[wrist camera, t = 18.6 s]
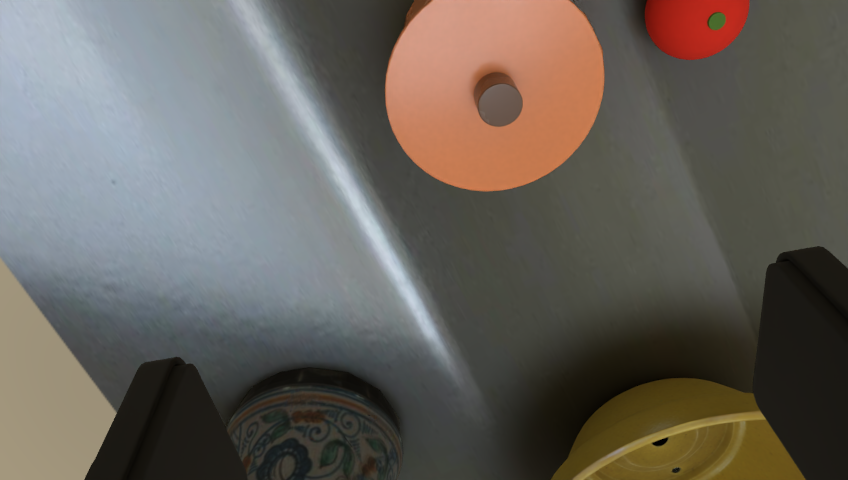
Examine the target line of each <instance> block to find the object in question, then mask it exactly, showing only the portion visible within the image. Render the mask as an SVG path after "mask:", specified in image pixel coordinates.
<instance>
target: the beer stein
mask: <svg viewBox="0 0 848 480" xmlns="http://www.w3.org/2000/svg"><path fill="white" fill-rule="evenodd" d="M226 430H227V432H228V434H229V436H230V438H231V440H232V442H233V444H234V446H235V448H236V450H237V452H238V454H239V456H240V459H241V461H242V463H243V465H244V467H245V469H246V472H247V478H248V480H397V478H398V476H399V473H400V470H401V466H402V460H403V445H402V440H401V437H400V427H399V418H398V416H397V415H396V413H395V412H394V410H393V409H392V408H391V406H390V405H389V403H388V402H387V400H386V399H385V397H384V396H383V394H382V393H381V392H380V390H378V389H376V388H374V387H373V386H371V385H369V384H367V383H366V382H364V381H362V380H360V379H358V378H357V377H355V376H353V375H351V374H350V373H347V372H339V371H332V370H324V369H317V368H304V369H298V370H293V371H287V372H281V373H278V374H276V375H274V376H272V377H270V378H268V379H266V380H264V381H263V382H261V383H259V384H257V385H255V386H253V387H252V388H251V390H250V391H249V392H248V394H247V395H246V397H245V398H244V399H243V401H242V402H241V404H240V405H239V407H238V408H237V410H236V412H235V413H234V415H233V416H232V418H231V420H230V422H229V424H228V426H227V428H226Z"/></svg>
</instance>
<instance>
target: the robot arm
mask: <svg viewBox="0 0 848 480" xmlns="http://www.w3.org/2000/svg"><path fill="white" fill-rule="evenodd" d="M753 394H754V398H755V401H756V404H757V406H758V408H759V410H760V411H761V413H762V414H763V416H764V417H765V419H766V420H767V422H768V423H769V425H770V426H771V428H772V429H773V431H774V432H775V434H776V435H777V437H778V438H779V440H780V441H781V443H782V445H783V446H784V448H785V449H786V451H787V452H788V454H789V455H790V457H791V458H792V460H793V461H794V463H795V464H796V466H797V467H798V469H799V470H800V472H801V473H802V475H803V476H804V478H805V479H806V480H848V268H847V267H845V266H844V265H843V264H842V263H841V262H840V261H839V260H838V259H837V258H836V257H835V256H833V255H832V254H831V253H830V252H829V251H828V250H827V249H825V248H824V247H819V246H817V247H811V248H806V249H800V250H794V251H788V252H783V253H781V254H780V255H779V256H778V258H777V261H776V263H773V264H770V265H769V266H768V268H767V272H766V279H765V287H764V296H763V304H762V312H761V321H760V329H759V337H758V346H757V354H756V362H755V371H754V379H753ZM85 480H248V478H247V472H246V469H245V467H244V465H243V463H242V461H241V459H240V456H239V454H238V452H237V450H236V448H235V446H234V444H233V442H232V440H231V438H230V436H229V434H228V432H227V430H226V428H225V426H224V424H223V422H222V420H221V418H220V416H219V413H218V411H217V409H216V407H215V405H214V403H213V401H212V399H211V397H210V395H209V393H208V391H207V389H206V387H205V385H204V383H203V381H202V379H201V377H200V375H199V373H198V370H197V369H196V367H195V366H194V365H193V364H185V362H184V361H183V360H182V359H181V358H180V357H174V358H168V359H162V360H156V361H151V362H145V363H143V364H141V366H140V367H139V368H138V370H137V372H136V374H135V376H134V379H133V381H132V383H131V385H130V387H129V389H128V391H127V393H126V395H125V397H124V400H123V402H122V404H121V406H120V408H119V410H118V412H117V414H116V417H115V418H114V421H113V423H112V425H111V427H110V429H109V431H108V433H107V435H106V437H105V440H104V442H103V444H102V446H101V448H100V450H99V452H98V454H97V457H96V459H95V460H94V462H93V463H92V465H91V467H90V469H89V471H88V473H87V475H86V477H85Z"/></svg>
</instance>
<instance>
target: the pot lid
mask: <svg viewBox="0 0 848 480" xmlns="http://www.w3.org/2000/svg"><path fill="white" fill-rule="evenodd" d="M603 89H604V63H603V56H602V52H601V48H600V45H599V41H598V39H597V37H596V34H595V32H594V30H593V28H592V26H591V25H590V23H589V22H588V20H587V19H586V17H585V16H584V14H583V13H582V12H581V11H580V10H579V9H578V8H577V6H576V5H575V4H574V3H572V2H571V1H570V0H429V1H428V2H427V3H426V4H425V5H423V6H422V7H421V8H420V9H419V10H418V11H417V12H416V13H415V15H414V16H413V17H412V18H411V19H410V20H409V22H408V23H407V24H406V26H405V27H404V29H403V30H402V32H401V33H400V35H399V37H398V39H397V41H396V43H395V45H394V48H393V50H392V53H391V56H390V59H389V63H388V67H387V72H386V81H385V101H386V108H387V114H388V118H389V121H390V124H391V127H392V130H393V132H394V134H395V136H396V138H397V140H398V142H399V144H400V145H401V147H402V148H403V150H404V151H405V152H406V154H407V155H408V156H409V157H410V158H411V159H412V160H413V161H414V163H416V164H417V165H418V166H419V167H420V168H421V169H423V170H424V171H425V172H427V173H428V174H430V175H431V176H433V177H434V178H436V179H438V180H440V181H443V182H445V183H447V184H450V185H453V186H456V187H459V188H463V189H468V190H476V191H499V190H505V189H511V188H515V187H519V186H522V185H525V184H528V183H530V182H533V181H535V180H537V179H539V178H541V177H543V176H545V175H547V174H548V173H550V172H551V171H553V170H554V169H556V168H557V167H558V166H560V165H561V164H562V163H563V162H564V161H565V160H567V159H568V158H569V157H570V156H571V155H572V154H573V153H574V151H575V150H576V149H577V148H578V147H579V146H580V144H581V143H582V142H583V140H584V139H585V137H586V136H587V134H588V132H589V131H590V129H591V127H592V125H593V123H594V121H595V118H596V116H597V113H598V111H599V108H600V104H601V100H602V96H603Z"/></svg>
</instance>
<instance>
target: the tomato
mask: <svg viewBox="0 0 848 480" xmlns="http://www.w3.org/2000/svg"><path fill="white" fill-rule="evenodd" d="M748 11H749V0H647V2H646V7H645V23H646V28H647V31H648V33H649V36H650V37H651V39H652V41H653V42H654V43H655V45H656V46H657V47H658V48H659V49H661V50H662V51H663V52H665V53H666V54H668V55H670V56H673V57H676V58H679V59H686V60H695V59H702V58H706V57H709V56H711V55H714V54H716V53H718V52H720V51H721V50H723V49H724V48H726V47H727V46H728V45H729V44H730V43H731V42H732V41H733V40H734V39H735V38H736V37H737V36H738V34H739V33H740V31H741V30H742V28H743V26H744V24H745V21H746V19H747V15H748Z"/></svg>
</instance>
